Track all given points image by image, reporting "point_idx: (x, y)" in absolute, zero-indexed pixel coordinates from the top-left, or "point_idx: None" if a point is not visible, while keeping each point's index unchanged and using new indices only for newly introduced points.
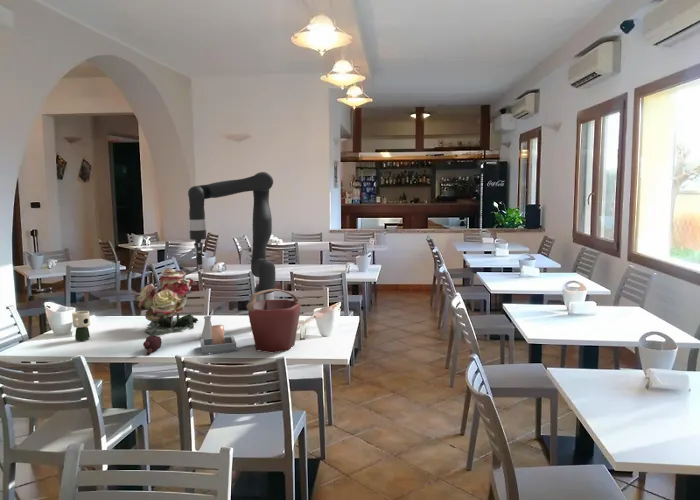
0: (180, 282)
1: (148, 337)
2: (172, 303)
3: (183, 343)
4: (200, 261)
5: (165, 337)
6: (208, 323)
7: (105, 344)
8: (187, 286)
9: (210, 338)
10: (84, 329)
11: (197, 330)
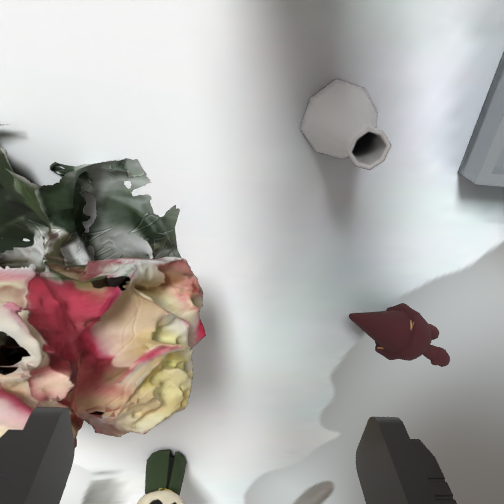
0: (54, 372)
1: (408, 358)
2: (181, 331)
3: (364, 225)
4: (439, 487)
5: (240, 275)
6: (376, 138)
7: (241, 416)
8: (29, 299)
9: (497, 142)
10: (176, 488)
11: (177, 147)
